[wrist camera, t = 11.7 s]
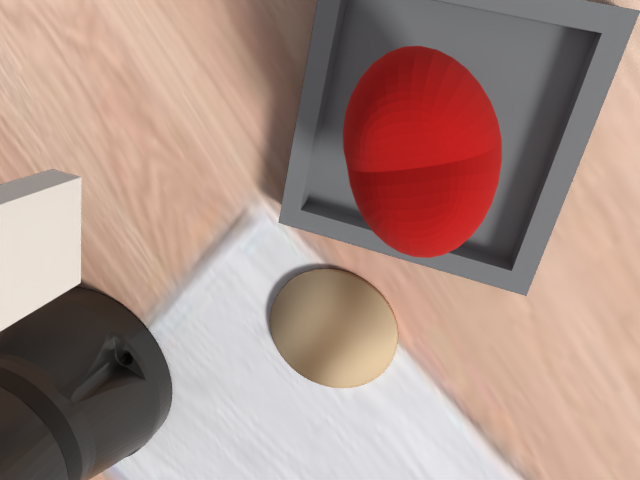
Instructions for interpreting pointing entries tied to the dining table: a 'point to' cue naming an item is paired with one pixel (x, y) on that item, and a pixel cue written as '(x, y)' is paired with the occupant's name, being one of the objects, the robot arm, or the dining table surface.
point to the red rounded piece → (421, 151)
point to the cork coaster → (334, 328)
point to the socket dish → (501, 88)
